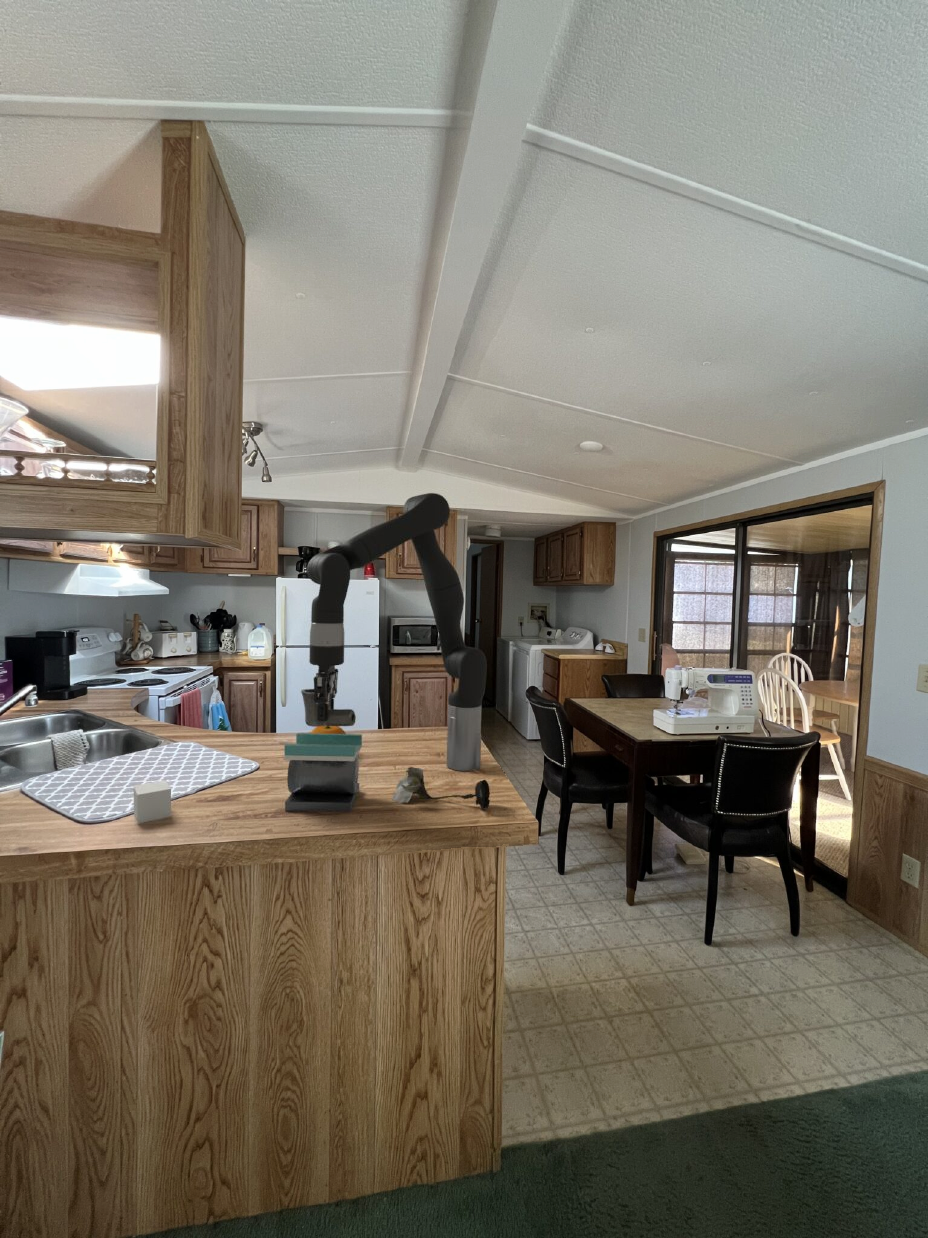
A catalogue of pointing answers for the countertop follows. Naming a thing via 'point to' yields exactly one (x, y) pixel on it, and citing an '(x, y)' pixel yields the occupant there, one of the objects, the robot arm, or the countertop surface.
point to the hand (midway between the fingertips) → (325, 717)
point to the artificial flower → (416, 786)
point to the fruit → (328, 730)
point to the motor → (323, 772)
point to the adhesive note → (152, 801)
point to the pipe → (334, 715)
